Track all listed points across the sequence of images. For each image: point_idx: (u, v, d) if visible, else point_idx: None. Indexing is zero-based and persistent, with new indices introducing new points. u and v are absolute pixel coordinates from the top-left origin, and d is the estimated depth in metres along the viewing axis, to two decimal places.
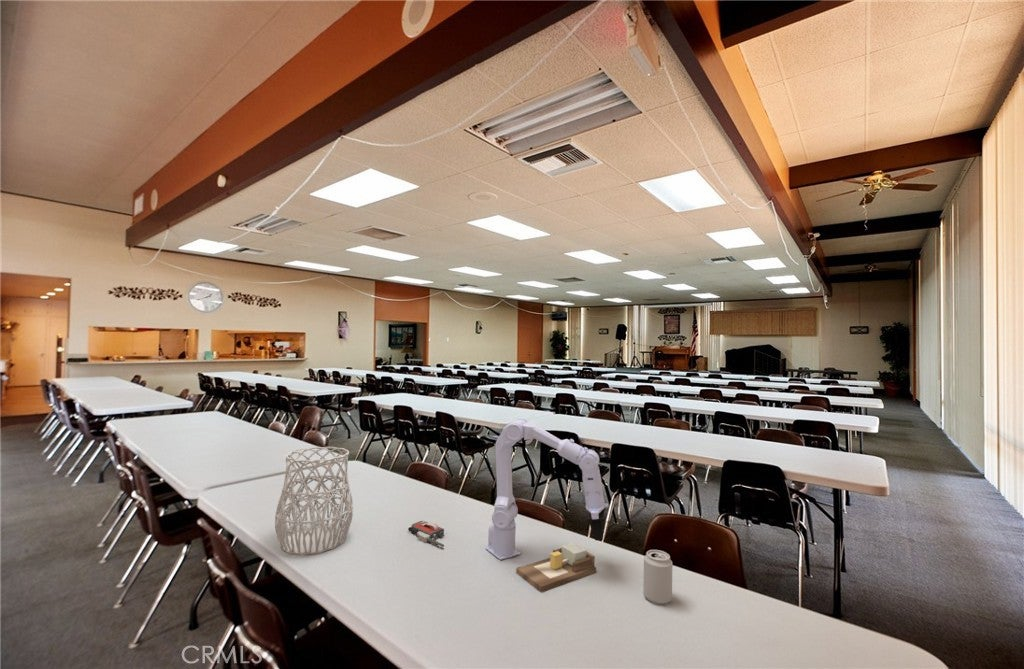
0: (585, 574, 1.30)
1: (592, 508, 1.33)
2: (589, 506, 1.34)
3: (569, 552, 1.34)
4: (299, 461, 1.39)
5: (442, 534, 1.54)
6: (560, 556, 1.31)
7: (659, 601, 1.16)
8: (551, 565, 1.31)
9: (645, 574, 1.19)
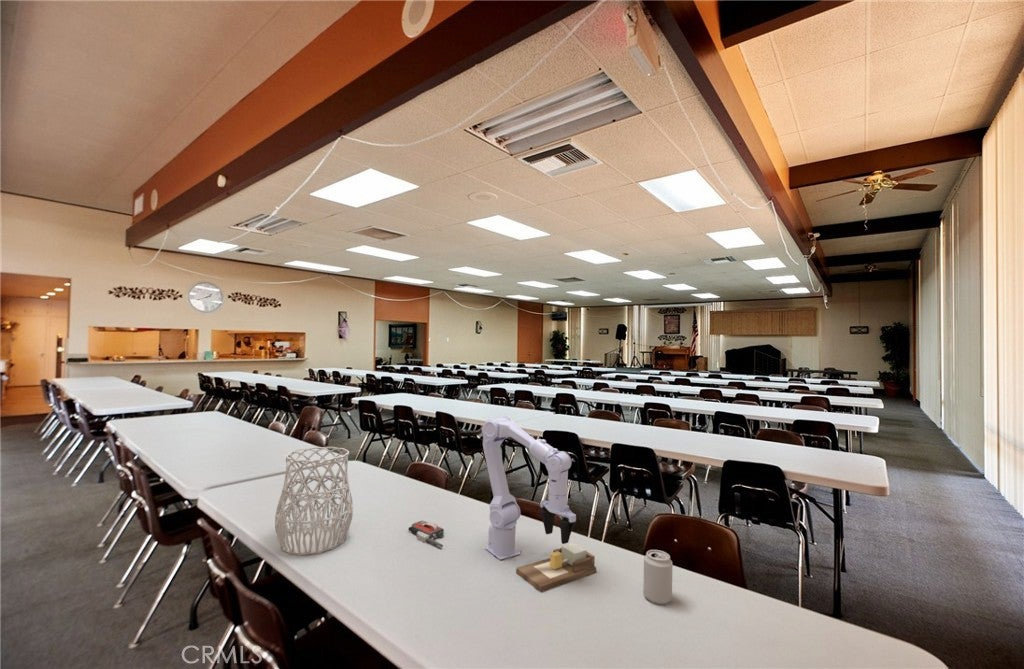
0: (585, 574, 1.30)
1: (561, 511, 1.30)
2: (558, 509, 1.30)
3: (569, 552, 1.34)
4: (299, 461, 1.39)
5: (442, 534, 1.54)
6: (560, 556, 1.31)
7: (659, 601, 1.16)
8: (551, 565, 1.31)
9: (645, 574, 1.19)
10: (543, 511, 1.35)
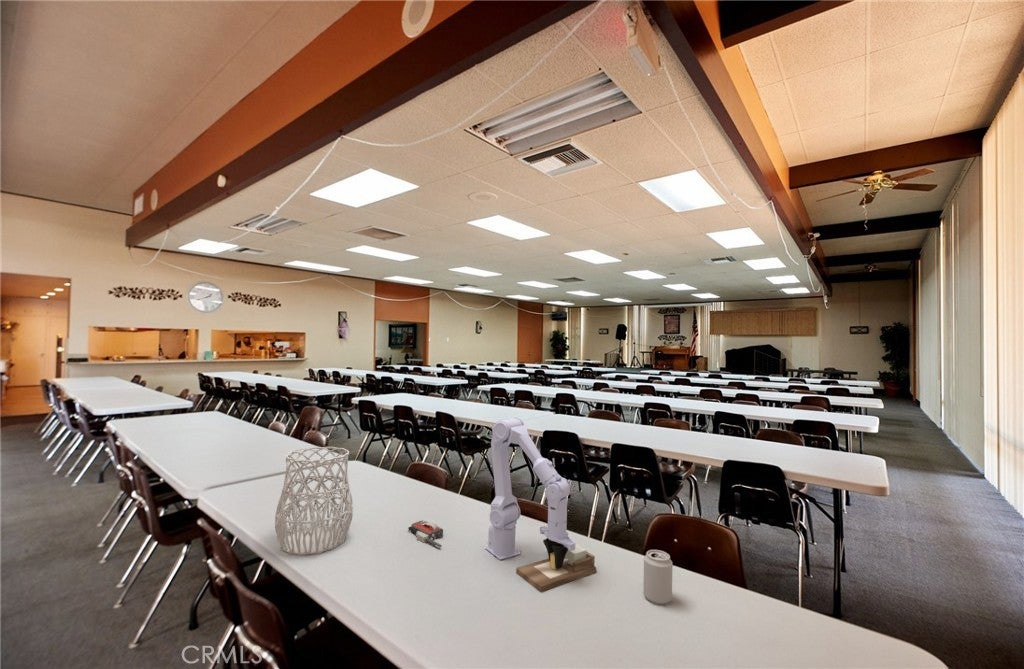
0: (585, 574, 1.30)
1: (561, 539, 1.29)
2: (557, 537, 1.29)
3: (569, 552, 1.34)
4: (299, 461, 1.39)
5: (441, 534, 1.54)
6: None
7: (659, 601, 1.16)
8: (551, 565, 1.31)
9: (645, 574, 1.19)
10: (547, 541, 1.33)
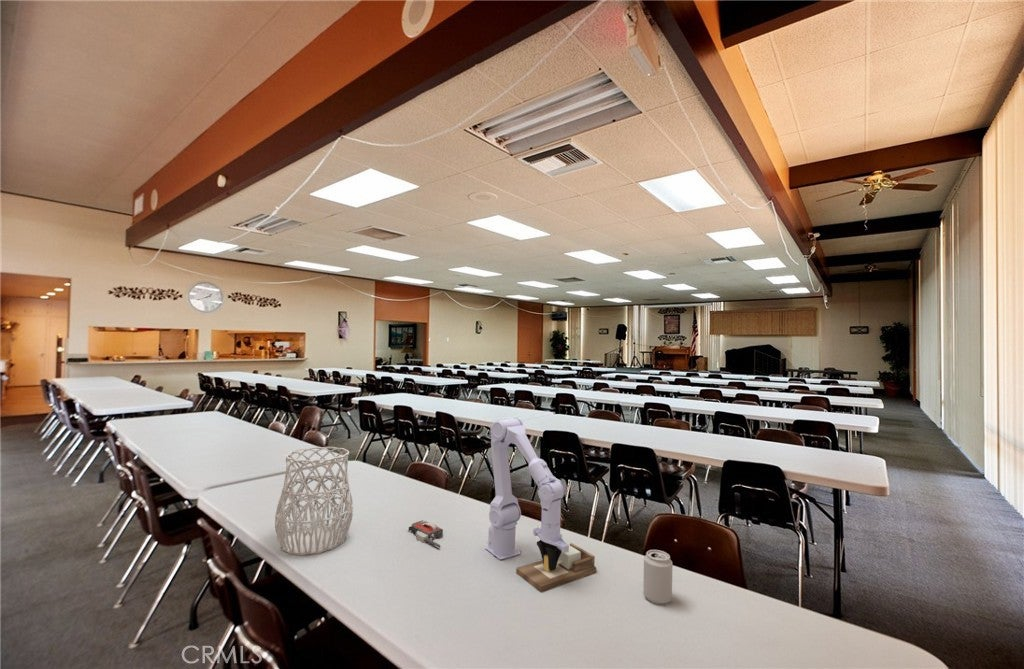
0: (585, 574, 1.30)
1: (554, 541, 1.28)
2: (551, 539, 1.28)
3: (563, 554, 1.32)
4: (299, 461, 1.39)
5: (441, 534, 1.54)
6: None
7: (659, 601, 1.16)
8: (545, 567, 1.30)
9: (645, 574, 1.19)
10: (541, 543, 1.31)
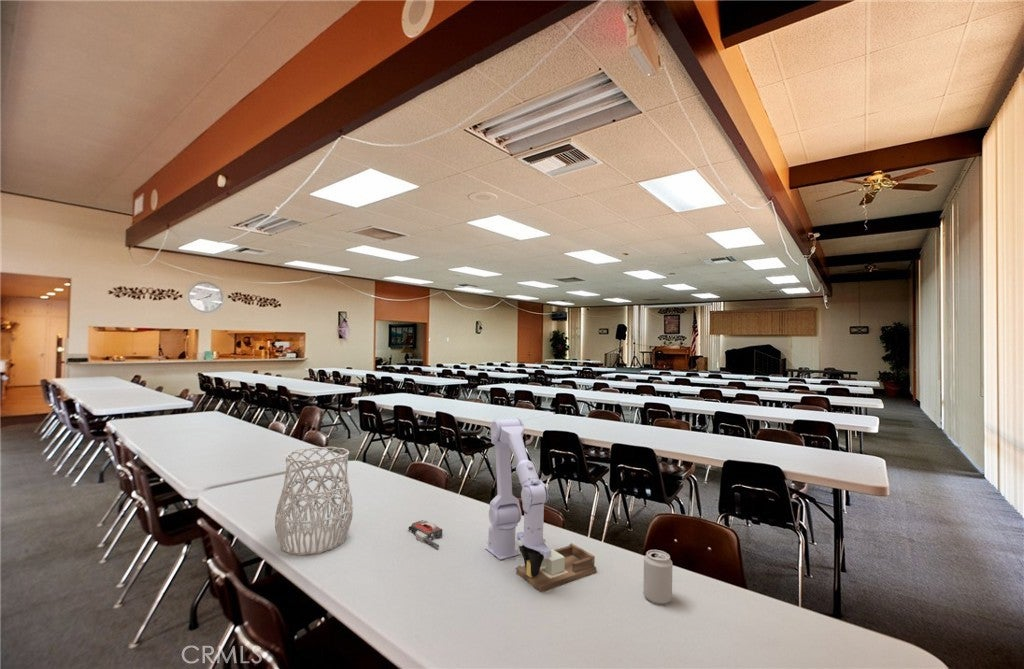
0: (585, 574, 1.30)
1: (537, 546, 1.24)
2: (533, 544, 1.24)
3: (547, 559, 1.29)
4: (299, 461, 1.39)
5: (440, 534, 1.54)
6: None
7: (659, 601, 1.16)
8: (527, 573, 1.26)
9: (645, 574, 1.19)
10: (523, 547, 1.28)
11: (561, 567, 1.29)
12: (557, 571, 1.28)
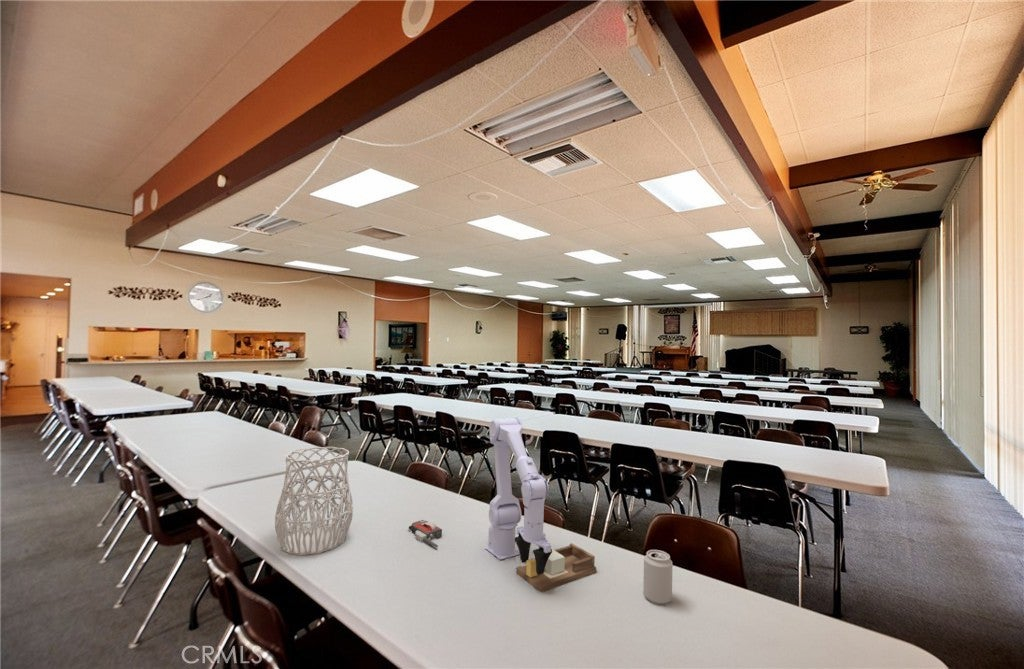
0: (585, 574, 1.30)
1: (537, 540, 1.24)
2: (533, 538, 1.24)
3: None
4: (299, 461, 1.39)
5: (439, 534, 1.54)
6: None
7: (659, 601, 1.16)
8: (527, 573, 1.26)
9: (645, 574, 1.19)
10: (519, 539, 1.30)
11: (561, 567, 1.29)
12: (557, 571, 1.28)
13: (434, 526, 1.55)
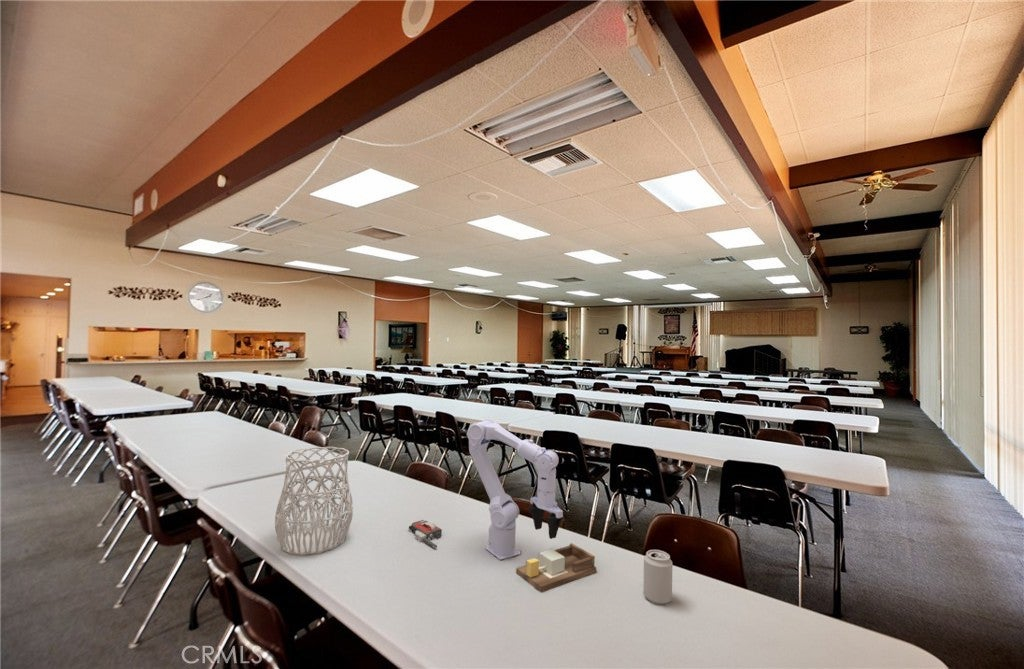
0: (585, 574, 1.30)
1: (549, 507, 1.35)
2: (546, 506, 1.35)
3: (547, 559, 1.29)
4: (299, 461, 1.39)
5: (439, 534, 1.54)
6: (537, 563, 1.27)
7: (659, 601, 1.16)
8: (527, 573, 1.26)
9: (645, 574, 1.19)
10: (533, 507, 1.41)
11: (561, 567, 1.29)
12: (557, 571, 1.28)
13: (434, 526, 1.55)
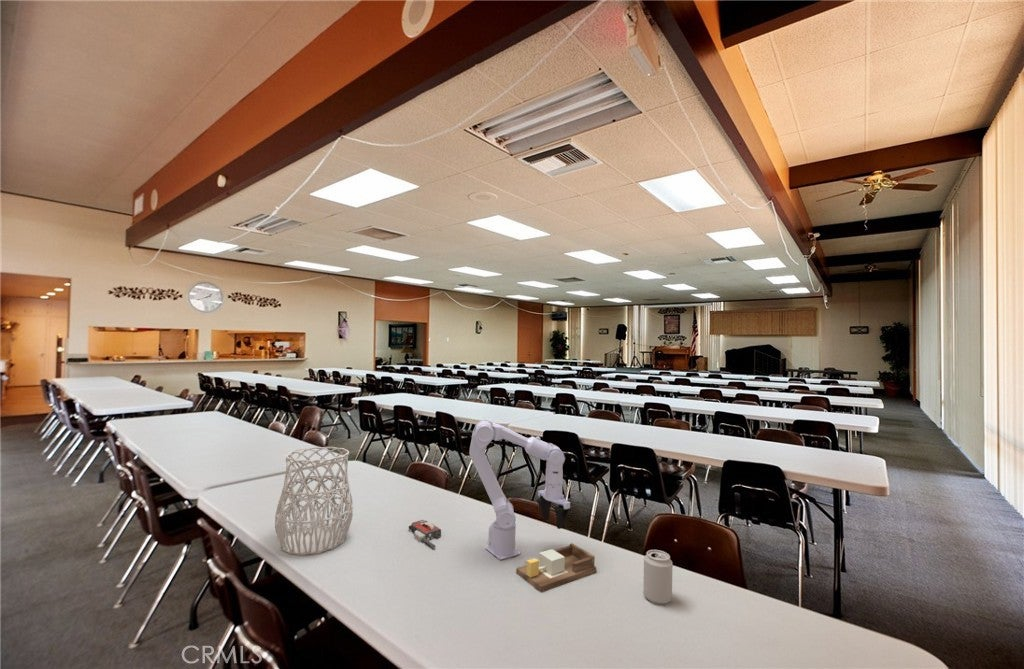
0: (585, 574, 1.30)
1: (557, 499, 1.43)
2: (554, 498, 1.43)
3: (547, 559, 1.29)
4: (299, 461, 1.39)
5: (438, 535, 1.54)
6: (537, 563, 1.27)
7: (659, 601, 1.16)
8: (527, 573, 1.26)
9: (645, 574, 1.19)
10: (540, 500, 1.48)
11: (561, 567, 1.29)
12: (557, 571, 1.28)
13: (433, 526, 1.55)
